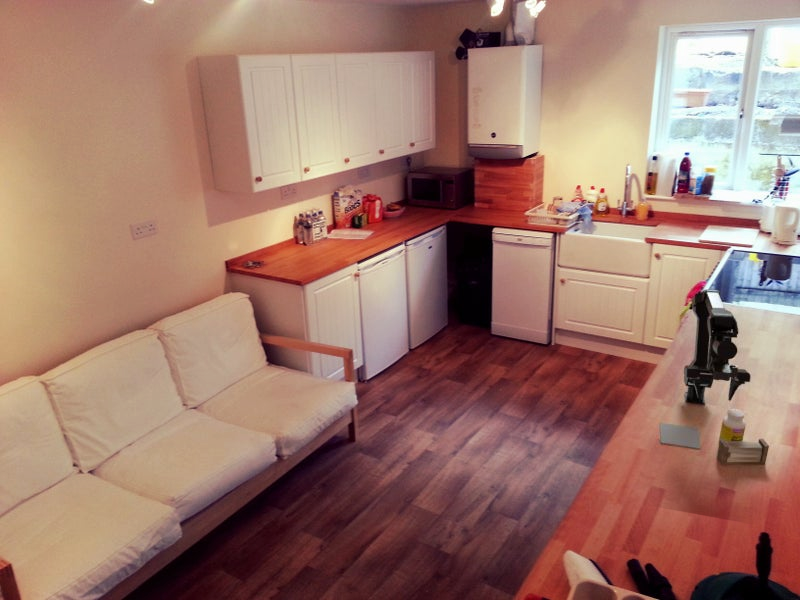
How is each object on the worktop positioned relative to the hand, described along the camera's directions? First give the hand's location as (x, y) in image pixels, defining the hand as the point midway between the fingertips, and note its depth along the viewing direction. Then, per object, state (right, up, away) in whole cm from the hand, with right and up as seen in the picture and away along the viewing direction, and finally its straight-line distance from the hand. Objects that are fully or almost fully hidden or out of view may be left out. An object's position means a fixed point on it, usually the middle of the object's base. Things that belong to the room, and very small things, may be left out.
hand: (714, 399), depth 211 cm
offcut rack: (+5, -19, -6) cm, 20 cm away
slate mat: (-8, -13, +7) cm, 17 cm away
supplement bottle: (+6, -16, +1) cm, 17 cm away
